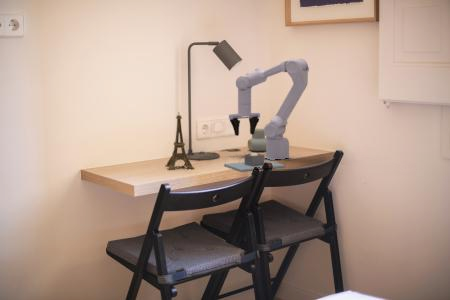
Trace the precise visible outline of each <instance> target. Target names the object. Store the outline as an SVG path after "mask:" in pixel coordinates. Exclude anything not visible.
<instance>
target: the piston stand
mask: <svg viewBox="0 0 450 300" xmlns="http://www.w3.org/2000/svg"><path fill="white" fill-rule="evenodd" d="M250 154H251V156H258V154H259V153H258V152H251V153H250ZM265 162H270V163H272V165H273V169H281V168H285V167H286V164H282V163H278V162H275V161H273V160H268V159H264V163H265ZM262 166H263V165H260V166H249V165H245V161H243V162H241V161H240V162H233V163H232V162H231V163H224V167H226V168H229V169H231V168H232V169H231V170H236V171H237V172H241V173H243V172H254V171H253V169H254V167H260V168H262Z"/></svg>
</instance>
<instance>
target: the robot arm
mask: <svg viewBox="0 0 450 300" xmlns="http://www.w3.org/2000/svg"><path fill="white" fill-rule="evenodd" d="M309 72H310V68H309V63H308V62H307V61H306V60H305V59H303V58H298V59H295V58H294V59H292V58H291V59H289V60H286V61H282V62H280V63H278V64H275V65H273V66H271V67H269V68H267V69H265V70H264V69H262V68H256V69H254V71H252V72H250V73H248V72H247V73H245V75H240V76H239V77H237V78H236V80H235V87H236V88H237V113H234V114H233V113H232V114H231V113H230V114H228V120H229V121H230V124H231V125H232V128H233V132H234V136H237V137H238V136H239V135H240V123H241V120H240V119H248V121H249V134H250V135H251V136H252V135H254V132H255V129H257V125H258V123H259V121H260V118H261V113H260V112H252V88H253V87H255V86H257V85H260V84H263V83H265V82H266V81H267V79H268V78H269V77H272V76H275V75H278V74H280V73H287V74H288V76H290V78H291V80H292V83H293V84H292V86H291V87H290V90H289V91H288V92H287V93H288V94H287V95H286V97H285V99H284V100H283V102H282V104H281V106H280V107H279V109H278V111H277V112H276V114H275V116H273V118H272V119H270V121H269V123H267V124H266V125H265V126H264V128H263V129H264V134H265V138H266V150H265V155H264V159H265V158H267V159H266V160H268V159H270V160H269V161H276V160H275V159H281V160H286V159H285V158H290V159H291V157H290V142H289V139H288V137H287V138H286V137H284V134H285V133H286V127H287V126H288V119H289V118H290V116H291V114H292V112H293V111H294V109H295V107H296V106H297V104H298V102H299V100H300V99H301V98H302V95H303V93H304V92H305V90H306V89H307V87H308V83H309V82H308V81H309Z"/></svg>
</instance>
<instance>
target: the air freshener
mask: <svg viewBox="0 0 450 300" xmlns="http://www.w3.org/2000/svg"><path fill="white" fill-rule="evenodd" d="M247 147H248V149H249V150H250V151H252V152H254V153H258V152H259V151H261V152H266V136H265V134H264V128H255V132H254V135H252V134H251V138H249V139H248V141H247Z"/></svg>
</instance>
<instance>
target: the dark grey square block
mask: <svg viewBox="0 0 450 300" xmlns="http://www.w3.org/2000/svg"><path fill="white" fill-rule="evenodd" d="M264 156H265V155H264V154H260V153H258V156H251V153H247V154H244V162H245V165H249V166H260V165H263V164H264V160H265V158H264Z"/></svg>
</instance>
